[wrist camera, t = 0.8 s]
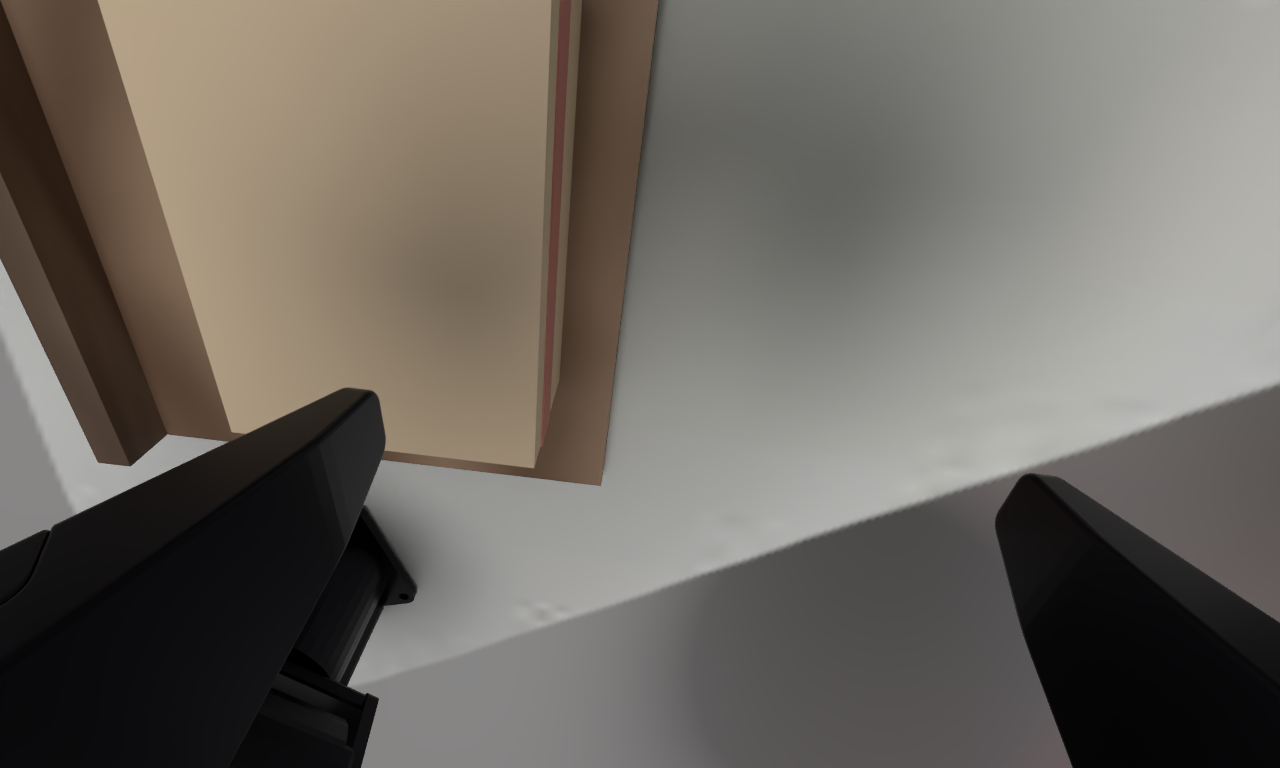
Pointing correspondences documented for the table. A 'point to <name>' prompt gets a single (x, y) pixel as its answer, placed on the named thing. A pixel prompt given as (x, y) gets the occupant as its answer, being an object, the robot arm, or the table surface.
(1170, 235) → the table surface
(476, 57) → the kraft carton
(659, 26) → the table surface
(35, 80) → the display board
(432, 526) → the table surface
